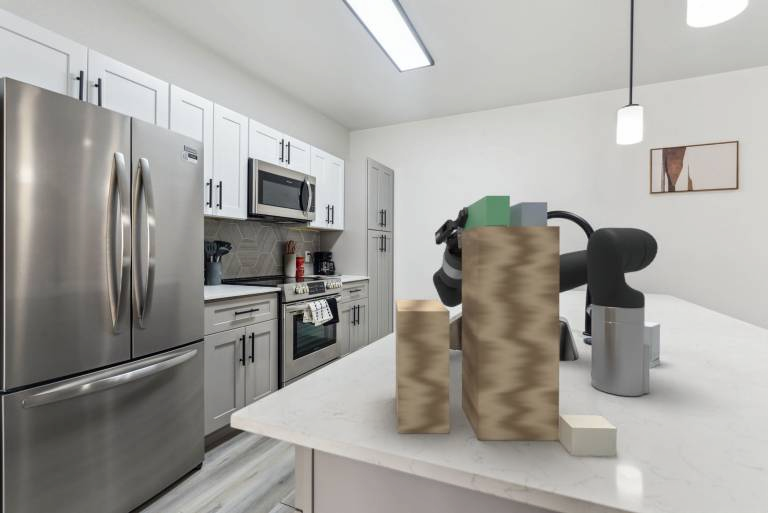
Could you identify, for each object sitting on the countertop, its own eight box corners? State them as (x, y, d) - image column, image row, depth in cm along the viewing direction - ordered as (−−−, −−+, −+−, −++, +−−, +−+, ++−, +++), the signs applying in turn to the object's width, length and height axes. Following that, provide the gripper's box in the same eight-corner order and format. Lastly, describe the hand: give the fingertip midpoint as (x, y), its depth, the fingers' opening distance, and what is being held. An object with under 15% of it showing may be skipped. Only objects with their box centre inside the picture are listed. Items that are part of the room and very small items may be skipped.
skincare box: (604, 358, 96) (604, 319, 96) (614, 354, 100) (615, 316, 100) (651, 369, 87) (651, 325, 87) (660, 364, 91) (660, 322, 91)
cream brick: (600, 442, 54) (600, 415, 54) (616, 457, 50) (616, 428, 50) (559, 441, 54) (559, 414, 54) (571, 456, 50) (572, 427, 50)
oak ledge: (436, 397, 70) (436, 299, 70) (449, 433, 56) (449, 311, 56) (395, 397, 70) (395, 299, 70) (397, 433, 56) (397, 311, 56)
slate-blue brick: (531, 230, 63) (531, 207, 63) (547, 227, 57) (547, 202, 57) (508, 230, 63) (508, 207, 63) (521, 227, 57) (521, 202, 57)
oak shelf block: (527, 406, 66) (528, 231, 66) (558, 440, 54) (559, 226, 54) (461, 406, 66) (462, 231, 66) (478, 440, 54) (478, 226, 54)
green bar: (476, 233, 74) (476, 211, 74) (509, 225, 54) (509, 195, 54) (459, 233, 74) (459, 211, 74) (486, 225, 54) (486, 195, 54)
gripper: (494, 271, 80) (519, 227, 65) (430, 271, 80) (440, 227, 65) (489, 242, 83) (511, 194, 68) (428, 242, 83) (437, 194, 68)
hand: (476, 211), depth 67 cm, fingers closed on green bar, 3 cm apart
